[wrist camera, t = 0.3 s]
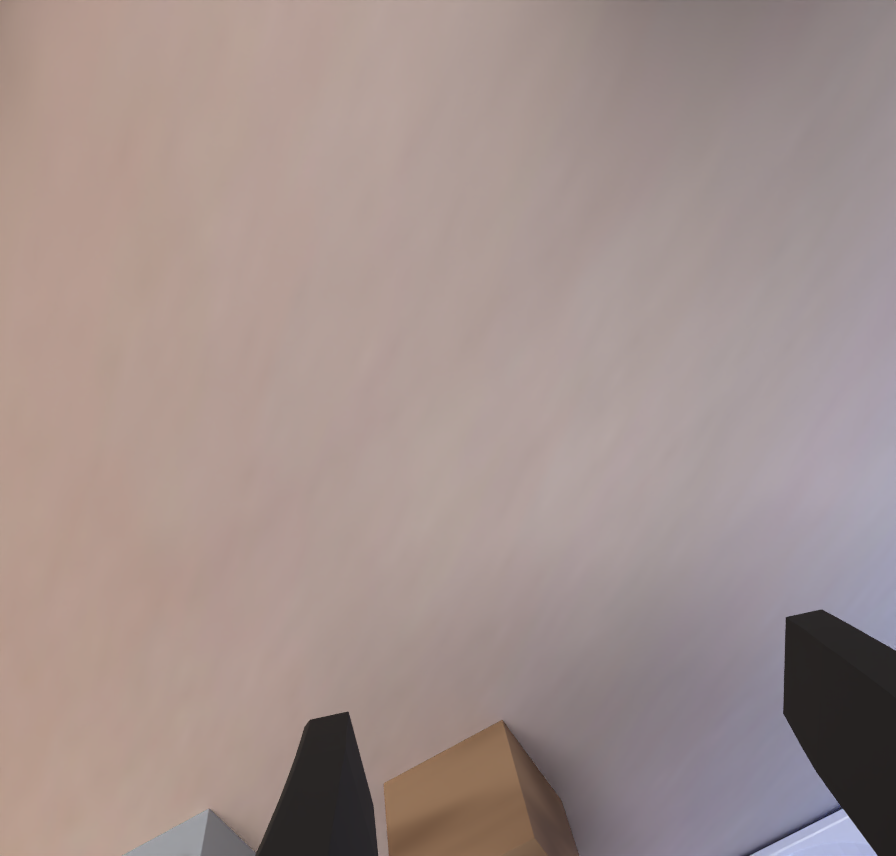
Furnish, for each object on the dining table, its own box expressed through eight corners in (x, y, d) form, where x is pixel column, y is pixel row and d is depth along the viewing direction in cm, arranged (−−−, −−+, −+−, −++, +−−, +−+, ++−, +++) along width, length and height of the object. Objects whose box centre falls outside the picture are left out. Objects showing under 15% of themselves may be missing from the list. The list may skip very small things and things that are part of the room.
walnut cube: (560, 798, 27) (601, 924, 23) (449, 856, 28) (469, 990, 23) (501, 717, 25) (534, 837, 21) (383, 781, 26) (392, 911, 22)
